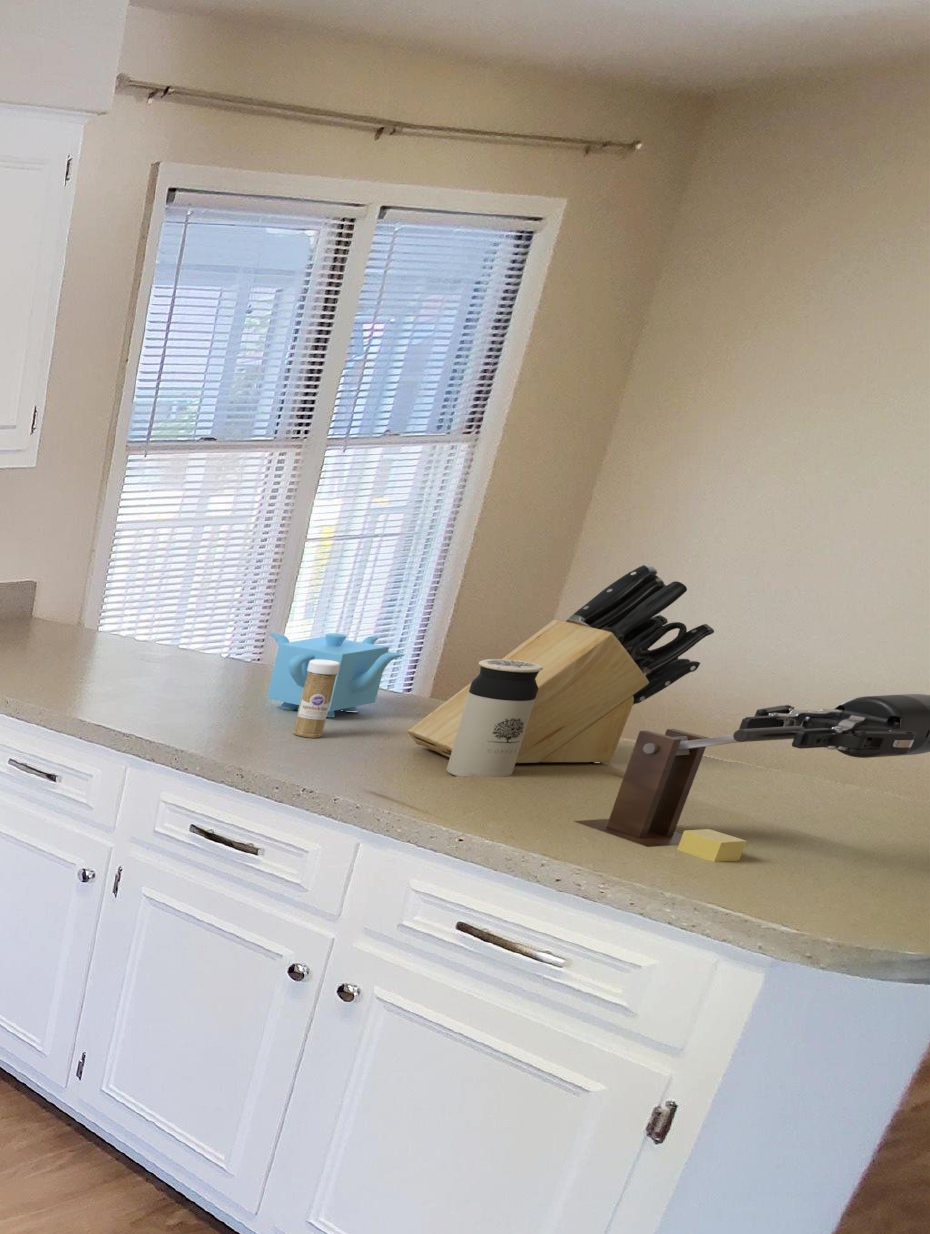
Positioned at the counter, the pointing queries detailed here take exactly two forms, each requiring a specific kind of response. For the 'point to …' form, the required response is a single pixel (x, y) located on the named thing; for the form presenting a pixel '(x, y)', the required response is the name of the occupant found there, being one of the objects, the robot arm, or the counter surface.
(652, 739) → the stand
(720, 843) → the butter
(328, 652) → the teakettle
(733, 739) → the lever
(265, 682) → the counter surface
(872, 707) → the robot arm
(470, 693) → the travel mug
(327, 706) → the sprinkles bottle
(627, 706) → the knife block
